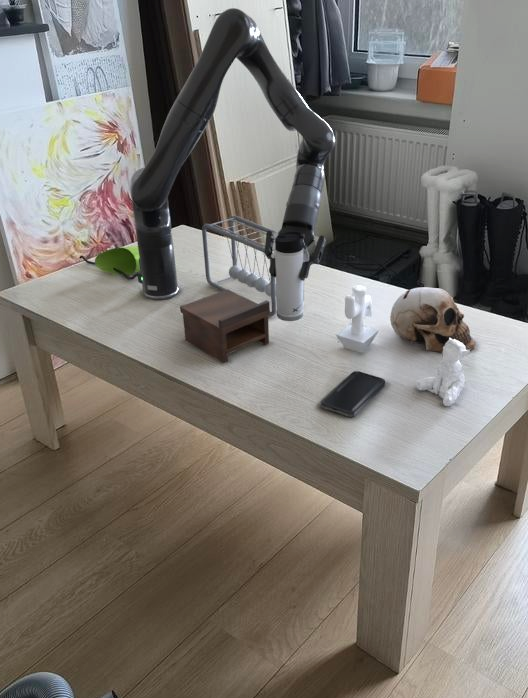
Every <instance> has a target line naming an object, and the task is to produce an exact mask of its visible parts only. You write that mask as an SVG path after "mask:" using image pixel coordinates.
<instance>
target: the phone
mask: <svg viewBox="0 0 528 698" xmlns="http://www.w3.org/2000/svg"><path fill="white" fill-rule="evenodd" d="M385 387H386V379H385V378H384V377H379V376H376V375H373V374H369V373H367V372H363V371H359V370H354V371H352V372H351V373H350V374H348V375H347V376H346V377H345V378H344V379H343V380H342V381H341V382H339V384H338V385H336V386H335V387H334V388H333V389H332V390H331V391H330V392H328V393H327V394H326V396H324V397H323V398H322V399H321V401H320V407H321V408H322V409H324V410H327V411H330V412H333V413H336V414H339V415H341V416H345V417H347V418H353V417H356V416H357V415H358V414H359V413H360V411H362V410H363V409H364V408H365V407H366V406H367V404H369V403H370V402H371V401H372V400H373V399H374V398H375V397H376V396H377V395H378V393H380V392H381V391H382V390H383V389H385Z"/></svg>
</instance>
